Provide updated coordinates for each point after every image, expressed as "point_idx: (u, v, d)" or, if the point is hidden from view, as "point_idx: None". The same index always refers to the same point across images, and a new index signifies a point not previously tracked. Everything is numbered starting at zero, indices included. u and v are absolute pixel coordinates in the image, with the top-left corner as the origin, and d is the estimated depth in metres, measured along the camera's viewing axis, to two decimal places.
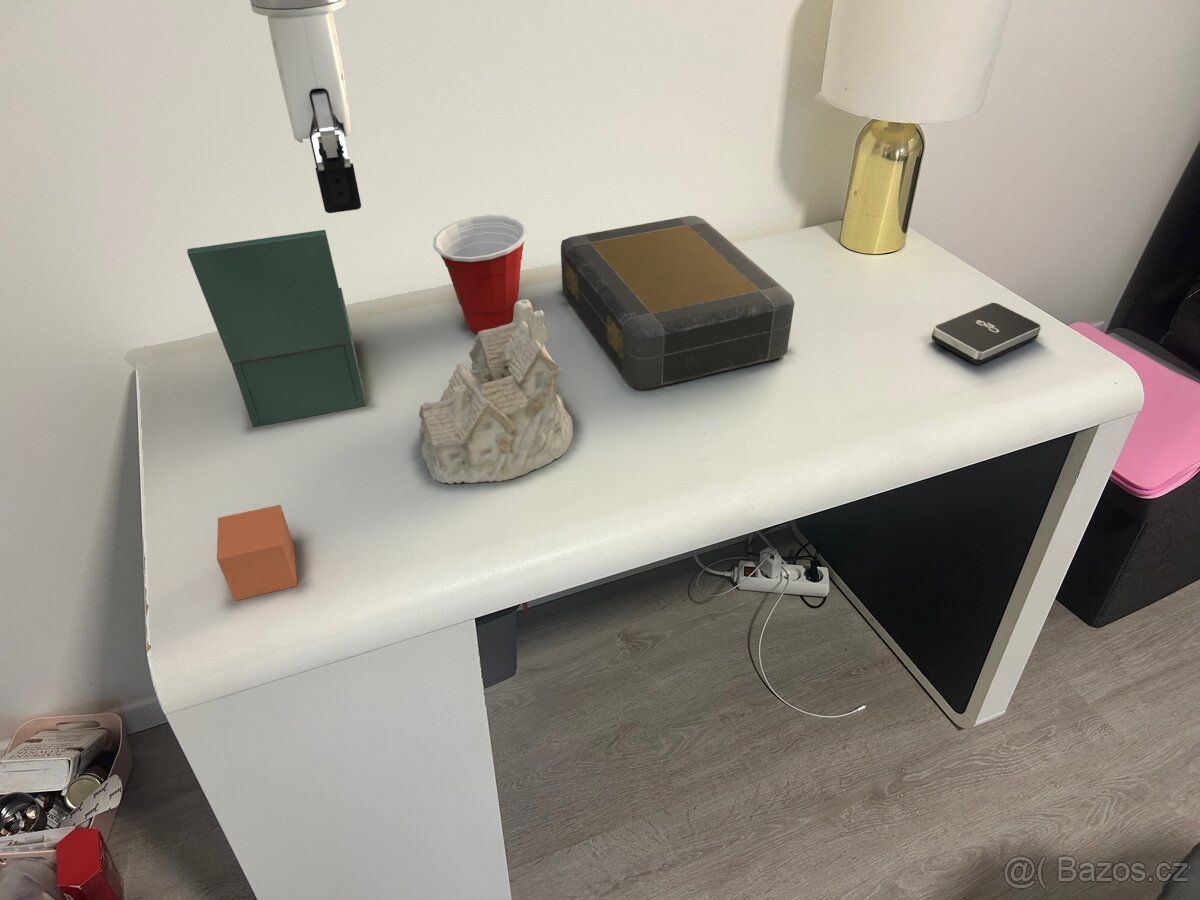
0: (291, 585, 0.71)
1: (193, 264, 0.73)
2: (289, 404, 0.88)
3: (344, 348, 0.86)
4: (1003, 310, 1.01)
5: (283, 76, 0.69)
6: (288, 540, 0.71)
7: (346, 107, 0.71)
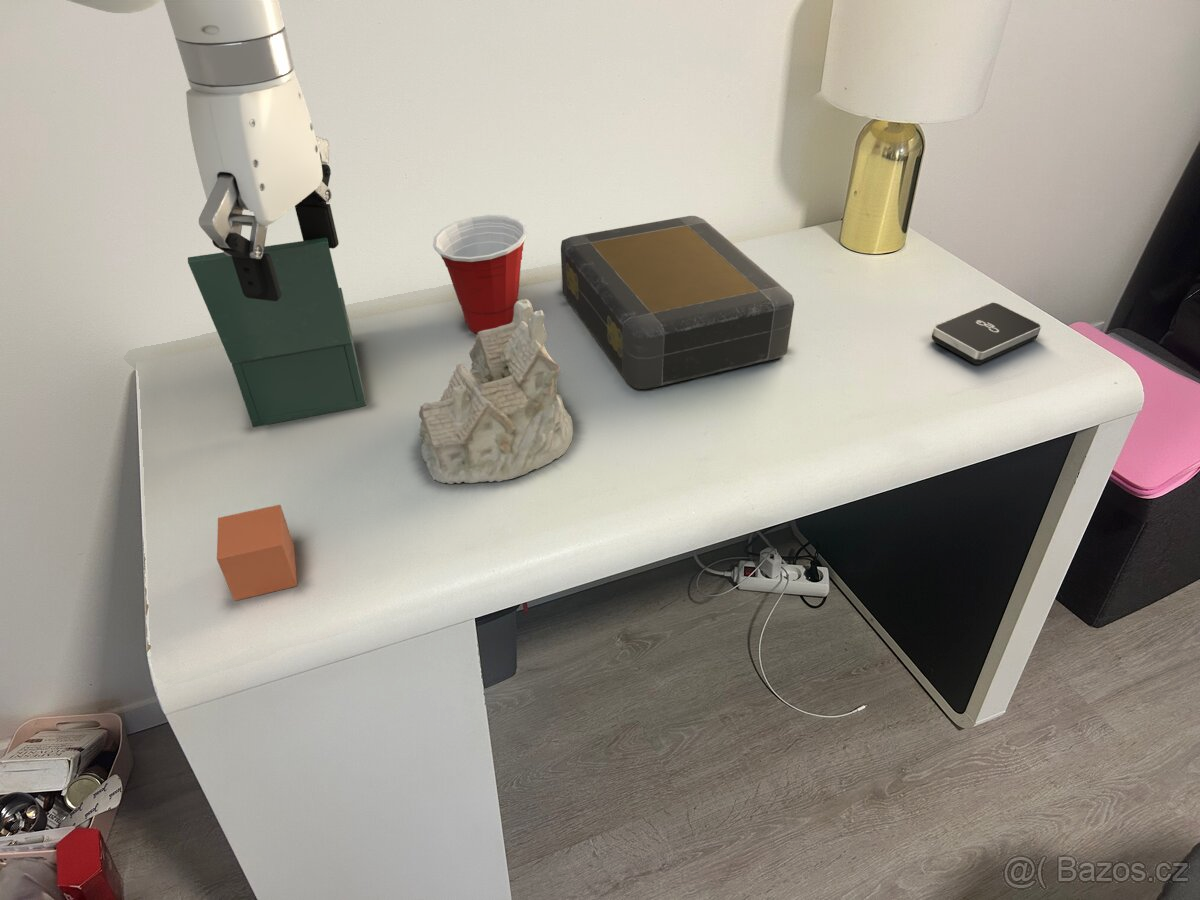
0: (291, 585, 0.71)
1: (194, 272, 0.73)
2: (289, 404, 0.88)
3: (344, 348, 0.86)
4: (1003, 310, 1.01)
5: (195, 153, 0.63)
6: (288, 540, 0.71)
7: (258, 196, 0.63)
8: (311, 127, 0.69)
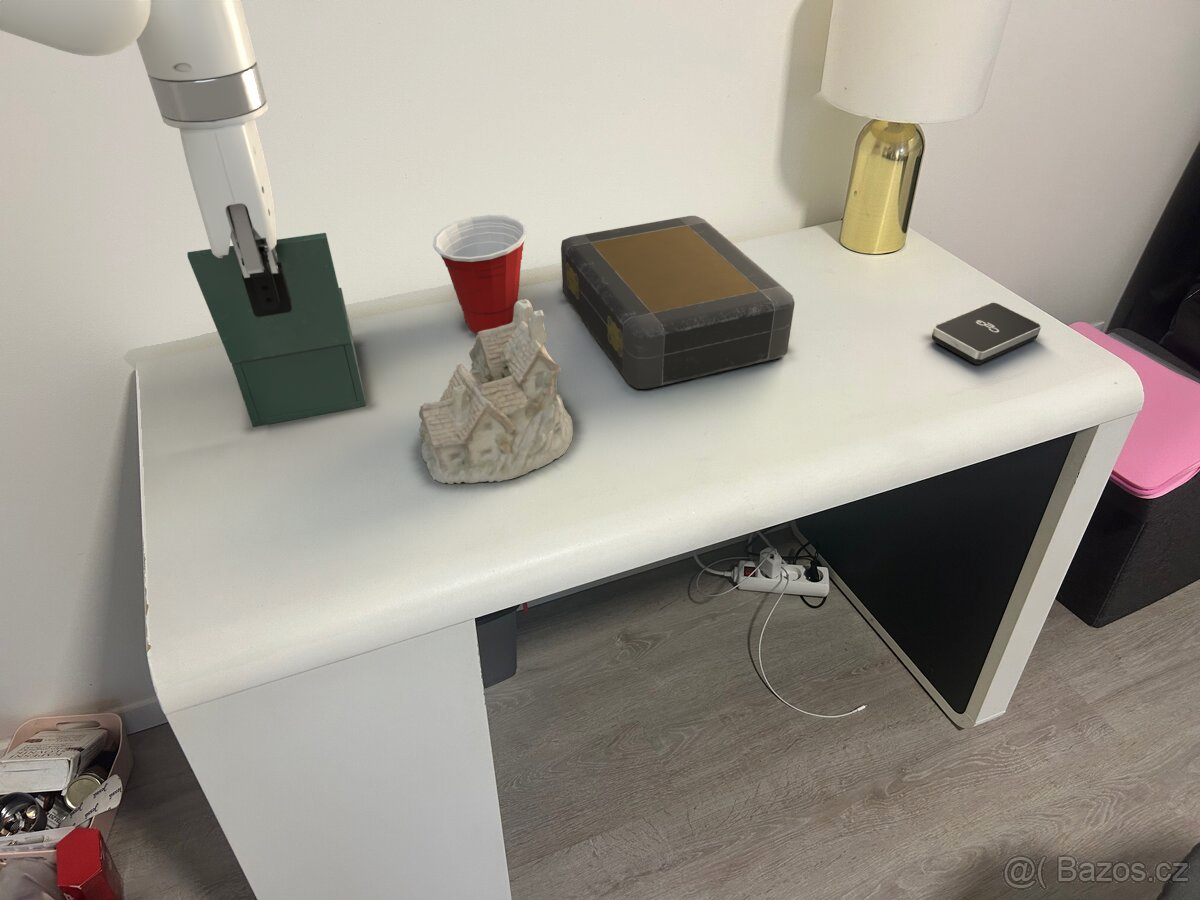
0: None
1: (193, 267, 0.73)
2: (289, 404, 0.88)
3: (344, 348, 0.86)
4: (1003, 310, 1.01)
5: (196, 192, 0.62)
6: None
7: (269, 221, 0.65)
8: None
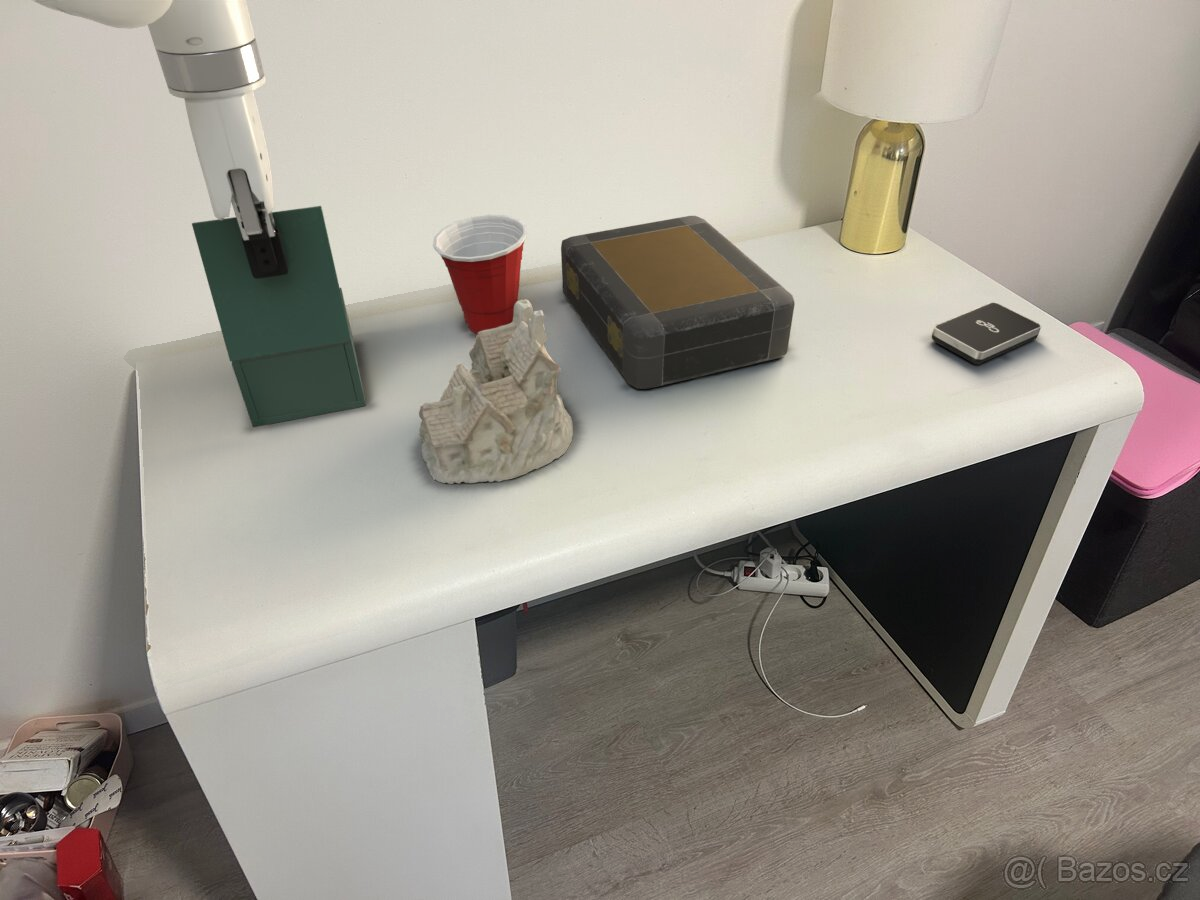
0: None
1: (197, 235, 0.78)
2: (289, 404, 0.88)
3: (344, 348, 0.86)
4: (1003, 310, 1.01)
5: (199, 157, 0.68)
6: None
7: (266, 186, 0.71)
8: None
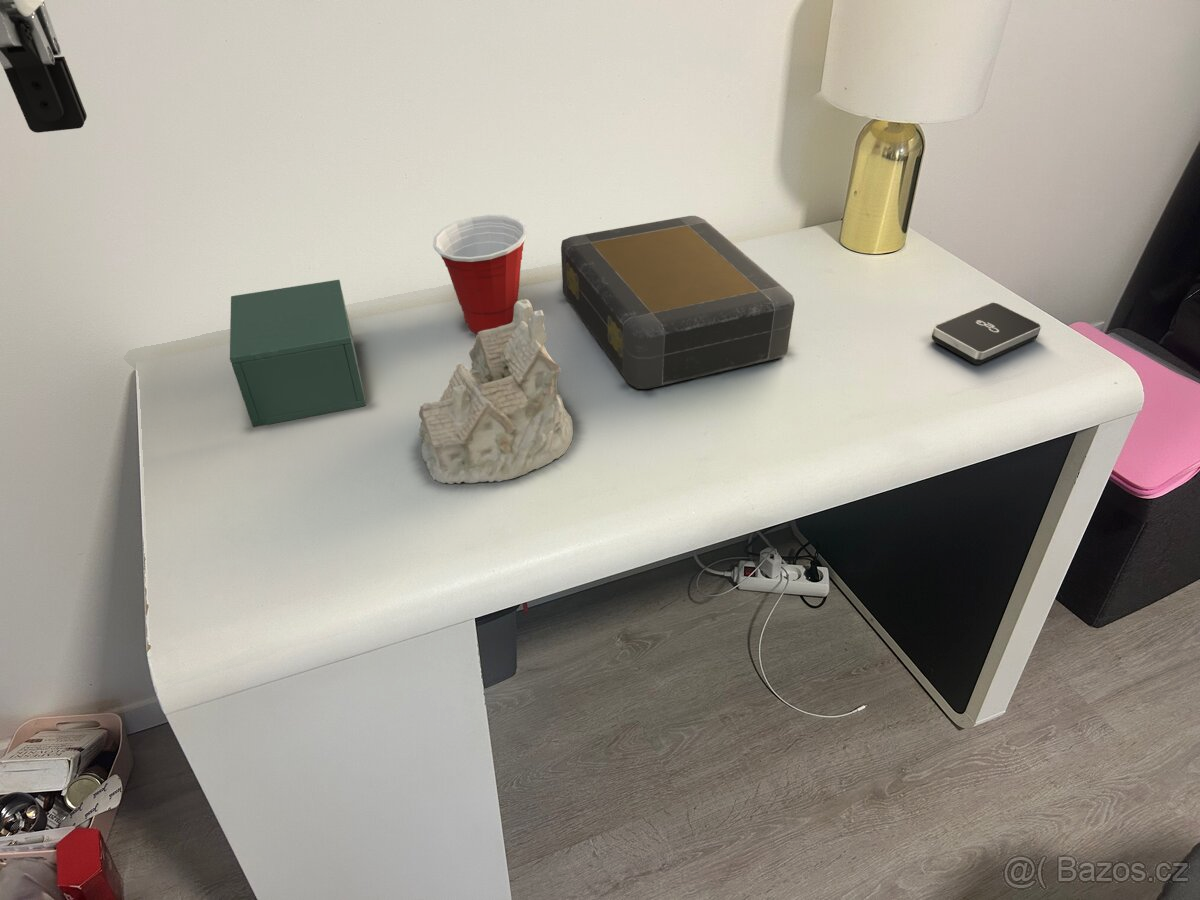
0: None
1: (232, 300, 0.91)
2: (289, 404, 0.88)
3: (344, 348, 0.86)
4: (1003, 310, 1.01)
5: None
6: None
7: None
8: None
